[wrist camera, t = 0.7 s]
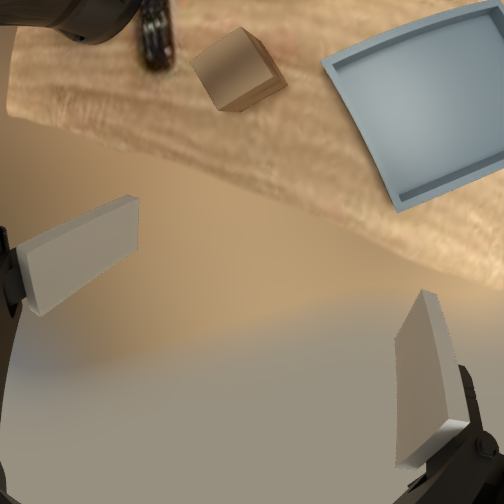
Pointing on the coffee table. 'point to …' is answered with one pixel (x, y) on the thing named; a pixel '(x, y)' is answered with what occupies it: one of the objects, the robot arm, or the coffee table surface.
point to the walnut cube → (238, 71)
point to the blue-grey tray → (429, 100)
